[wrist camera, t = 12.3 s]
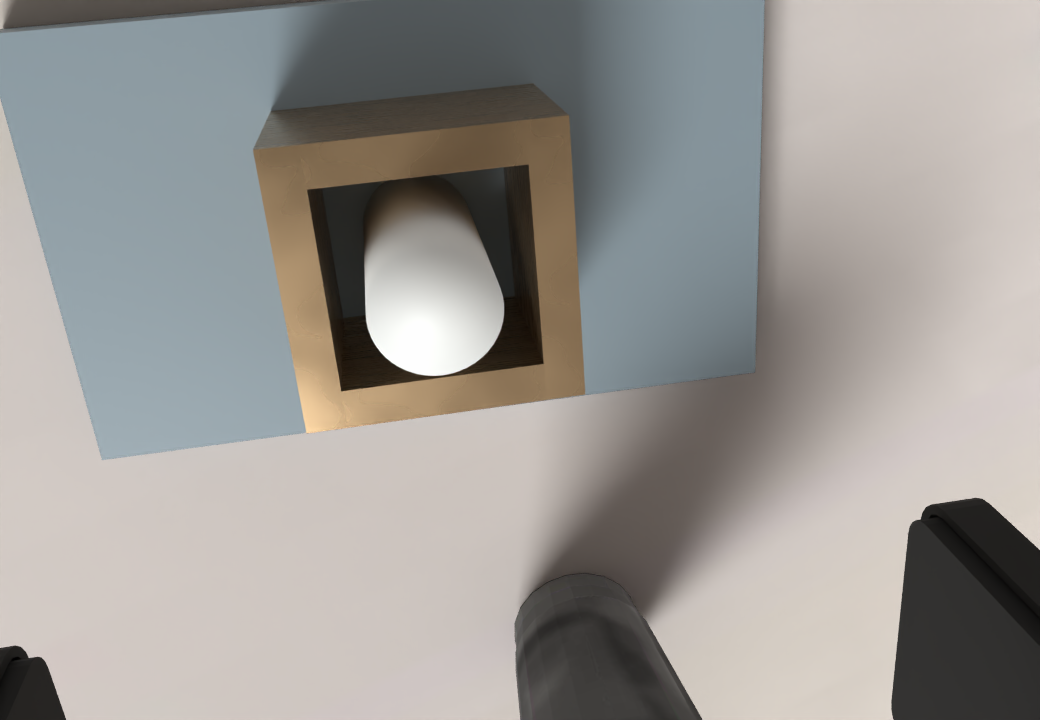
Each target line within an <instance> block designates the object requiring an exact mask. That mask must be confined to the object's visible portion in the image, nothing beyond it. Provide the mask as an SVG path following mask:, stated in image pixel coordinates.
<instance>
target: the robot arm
mask: <svg viewBox="0 0 1040 720" xmlns="http://www.w3.org/2000/svg"><path fill="white" fill-rule="evenodd" d="M892 715H893V719H894V720H1040V550H1039V549H1038V548H1037V547H1036V546H1035V545H1034V544H1033V543H1031V542H1030V541H1029V540H1028V539H1027V538H1026V537H1025V536H1024V535H1023V534H1022V533H1021V532H1020V531H1018V530H1017V529H1016V528H1015V527H1014V526H1013V525H1012V524H1011V523H1010V522H1009V521H1008V520H1007V519H1005V518H1004V517H1003V516H1002V515H1001V514H1000V513H999V512H998V511H997V510H996V509H995V508H993V507H992V506H991V505H990V504H989V503H988V502H986V501H985V500H983V499H980V498H972V499H965V500H959V501H952V502H946V503H939V504H933V505H930V506H928V507H926V508H925V510H924V511H923V513H922V517H921V520H916V521H914V522H912V524H911V526H910V528H909V533H908V543H907V552H906V562H905V572H904V582H903V592H902V602H901V612H900V622H899V632H898V642H897V652H896V662H895V672H894V682H893V692H892ZM0 720H66V718H65V715H64V712H63V709H62V706H61V704H60V701H59V698H58V695H57V692H56V689H55V686H54V683H53V681H52V678H51V675H50V672H49V669H48V667H47V665H46V662H45V661H44V660H43V659H42V658H41V657H34V658H28V656H27V653H26V652H25V651H24V650H23V649H22V648H21V647H19V646H10V647H4V648H0Z"/></svg>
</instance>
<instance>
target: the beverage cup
mask: <svg viewBox="0 0 1040 720" xmlns="http://www.w3.org/2000/svg"><path fill="white" fill-rule="evenodd" d="M515 642H516V677H517V688H518V698H519V709H520V720H702V718H701V716H700V715H699V713H698V711H697V709H696V708H695V706H694V704H693V702H692V701H691V699H690V697H689V695H688V694H687V692H686V690H685V688H684V687H683V685H682V683H681V681H680V679H679V678H678V676H677V674H676V672H675V671H674V669H673V667H672V665H671V664H670V662H669V660H668V658H667V657H666V655H665V653H664V651H663V650H662V648H661V646H660V644H659V643H658V641H657V639H656V637H655V636H654V634H653V632H652V630H651V628H650V627H649V625H648V623H647V621H646V620H645V619H644V618H643V617H642V616H641V615H640V613H639V612H638V610H637V608H636V607H635V606H634V605H633V602H632V600H631V598H630V596H629V595H628V594H627V593H626V591H625V590H624V589H623V588H622V587H621V586H620V585H619V584H617V583H615V582H613V581H612V580H610V579H608V578H606V577H603V576H598V575H592V574H586V573H585V574H575V575H566V576H563V577H561V578H558V579H555V580H553V581H550V582H547V583H546V584H545V585H543V586H542V587H540V588H539V589H538V590H536V591H535V592H533V593H532V594H531V595H530V597H529V598H528V599H527V600H526V602H525V603H524V604H523V605H522V607H521V608H520V611H519V613H518V616H517V619H516V621H515Z"/></svg>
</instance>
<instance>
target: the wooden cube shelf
mask: <svg viewBox="0 0 1040 720" xmlns="http://www.w3.org/2000/svg"><path fill="white" fill-rule="evenodd" d="M253 153H254V159H255V164H256V169H257V175H258V180H259V185H260V190H261V196H262V201H263V206H264V211H265V217H266V222H267V227H268V233H269V238H270V243H271V248H272V254H273V259H274V264H275V269H276V275H277V280H278V285H279V291H280V296H281V301H282V306H283V312H284V317H285V322H286V327H287V333H288V338H289V343H290V349H291V354H292V359H293V364H294V370H295V375H296V380H297V386H298V391H299V396H300V401H301V407H302V412H303V417H304V422H305V428H306V433H313V432H321V431H328V430H335V429H342V428H349V427H356V426H364V425H371V424H378V423H385V422H392V421H399V420H407V419H414V418H421V417H428V416H435V415H442V414H450V413H457V412H464V411H471V410H478V409H485V408H493V407H500V406H507V405H514V404H521V403H528V402H536V401H543V400H550V399H557V398H564V397H571V396H579V395H585V378H584V361H583V344H582V327H581V310H580V292H579V275H578V258H577V241H576V224H575V207H574V190H573V173H572V155H571V138H570V121H569V115H568V114H567V113H566V112H565V111H564V110H563V109H562V108H560V107H559V106H558V105H557V104H556V103H555V102H554V101H553V100H551V99H550V98H549V97H548V96H547V95H546V94H545V93H543V92H542V91H541V90H540V89H539V88H538V87H537V86H536V85H534V84H533V83H531V84H522V85H512V86H503V87H493V88H484V89H474V90H465V91H455V92H446V93H437V94H427V95H418V96H408V97H399V98H389V99H380V100H370V101H361V102H351V103H342V104H332V105H323V106H313V107H304V108H294V109H285V110H275V111H270V113H269V116H268V118H267V120H266V122H265V124H264V126H263V129H262V131H261V133H260V135H259V137H258V140H257V142H256V144H255V146H254V148H253ZM501 167H503V168H504V179H505V191H506V202H507V214H508V225H509V237H510V248H511V260H512V271H513V283H514V294H515V296H511V297H503V301H504V318H503V323H502V327H501V330H500V333H499V335H498V337H497V339H496V341H495V343H494V344H493V346H492V347H491V348H490V350H489V351H488V352H487V353H486V354H485V355H484V356H483V357H482V358H481V359H479V360H478V361H477V362H476V363H474V364H472V365H471V366H469V367H467V368H465V369H463V370H461V371H458V372H455V373H452V374H446V375H438V376H428V375H420V374H415V373H412V372H409V371H406V370H404V369H402V368H400V367H398V366H396V365H395V364H393V363H392V362H391V361H389V360H388V359H387V358H386V357H385V356H384V355H383V354H382V353H381V352H380V351H379V349H378V348H377V347H376V345H375V344H374V342H373V340H372V338H371V336H370V333H369V330H368V327H367V322H366V315H362V316H355V317H347V318H343V312H342V306H341V300H340V294H339V287H338V281H337V275H336V269H335V263H334V257H333V251H332V245H331V239H330V232H329V226H328V220H327V214H326V208H325V202H324V196H323V190H322V188H326V187H335V186H344V185H352V184H361V183H370V182H379V181H387V180H396V179H405V178H414V177H423V176H431V175H440V174H449V173H458V172H466V171H475V170H484V169H493V168H501Z"/></svg>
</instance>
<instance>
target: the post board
mask: <svg viewBox="0 0 1040 720" xmlns="http://www.w3.org/2000/svg"><path fill="white" fill-rule="evenodd" d="M764 2H765V0H324V1H313V2H302V3H290V4H279V5H268V6H257V7H245V8H234V9H223V10H211V11H200V12H189V13H177V14H166V15H155V16H143V17H132V18H121V19H109V20H98V21H87V22H76V23H64V24H53V25H42V26H30V27H19V28H8V29H0V99H1V102H2V106H3V109H4V113H5V117H6V120H7V124H8V127H9V131H10V134H11V138H12V141H13V145H14V149H15V152H16V156H17V159H18V163H19V166H20V170H21V173H22V177H23V181H24V184H25V188H26V191H27V195H28V198H29V202H30V205H31V209H32V213H33V216H34V220H35V223H36V227H37V230H38V234H39V237H40V241H41V245H42V248H43V252H44V255H45V259H46V262H47V266H48V269H49V273H50V276H51V280H52V284H53V287H54V291H55V294H56V298H57V301H58V305H59V308H60V312H61V316H62V319H63V323H64V326H65V330H66V333H67V337H68V340H69V344H70V348H71V351H72V355H73V358H74V362H75V365H76V369H77V372H78V376H79V380H80V383H81V387H82V390H83V394H84V397H85V401H86V404H87V408H88V412H89V415H90V419H91V422H92V426H93V429H94V433H95V436H96V440H97V443H98V447H99V451H100V454H101V458H102V460H106V459H114V458H121V457H129V456H136V455H144V454H151V453H159V452H166V451H173V450H181V449H188V448H196V447H203V446H211V445H218V444H226V443H233V442H241V441H248V440H255V439H263V438H270V437H278V436H285V435H293V434H300V433H306V428H305V422H304V417H303V412H302V407H301V401H300V396H299V391H298V386H297V380H296V375H295V370H294V364H293V359H292V354H291V349H290V343H289V338H288V333H287V327H286V322H285V317H284V312H283V306H282V301H281V296H280V291H279V285H278V280H277V275H276V269H275V264H274V259H273V254H272V248H271V243H270V238H269V233H268V227H267V222H266V217H265V211H264V206H263V201H262V196H261V190H260V185H259V180H258V175H257V169H256V164H255V159H254V153H253V148H254V146H255V144H256V142H257V140H258V137H259V135H260V133H261V131H262V129H263V126H264V124H265V122H266V120H267V118H268V116H269V113H270V111H275V110H285V109H294V108H304V107H313V106H323V105H332V104H342V103H351V102H361V101H370V100H380V99H389V98H399V97H408V96H418V95H427V94H437V93H446V92H455V91H465V90H474V89H484V88H493V87H503V86H512V85H522V84H531V83H533V84H534V85H536V86H537V87H538V88H539V89H540V90H541V91H542V92H543V93H545V94H546V95H547V96H548V97H549V98H550V99H551V100H553V101H554V102H555V103H556V104H557V105H558V106H559V107H560V108H562V109H563V110H564V111H565V112H566V113H567V114H568V115H569V121H570V138H571V155H572V173H573V190H574V207H575V224H576V241H577V258H578V275H579V292H580V310H581V327H582V344H583V361H584V378H585V395H591V394H598V393H605V392H613V391H620V390H628V389H635V388H643V387H650V386H658V385H665V384H673V383H680V382H687V381H695V380H702V379H710V378H717V377H725V376H732V375H740V374H747V373H754V372H755V358H756V318H757V279H758V239H759V200H760V160H761V121H762V81H763V42H764ZM322 190H323V196H324V202H325V208H326V214H327V220H328V226H329V232H330V239H331V245H332V251H333V257H334V263H335V269H336V275H337V281H338V287H339V294H340V300H341V306H342V312H343V318H347V317H355V316H362V315H366V322H367V327H368V330H369V333H370V336H371V338H372V340H373V342H374V344H375V345H376V347H377V348H378V349H379V351H380V352H381V353H382V354H383V355H384V356H385V357H386V358H387V359H388V360H389V361H391V362H392V363H393V364H395V365H396V366H398V367H400V368H402V369H404V370H406V371H409V372H412V373H415V374H420V375H428V376H438V375H446V374H452V373H455V372H458V371H461V370H463V369H465V368H467V367H469V366H471V365H472V364H474V363H476V362H477V361H478V360H479V359H481V358H482V357H483V356H484V355H485V354H486V353H487V352H488V351H489V350H490V348H491V347H492V346H493V344H494V343H495V341H496V339H497V337H498V335H499V333H500V330H501V327H502V323H503V318H504V301H503V297H511V296H515V294H514V283H513V271H512V260H511V248H510V237H509V225H508V214H507V202H506V191H505V179H504V168H503V167H501V168H493V169H484V170H475V171H466V172H458V173H449V174H440V175H431V176H423V177H414V178H405V179H396V180H387V181H379V182H370V183H361V184H352V185H344V186H335V187H326V188H322ZM579 396H583V395H579ZM571 397H576V396H571ZM564 398H568V397H564ZM557 399H561V398H557ZM550 400H553V399H550ZM543 401H546V400H543ZM536 402H538V401H536ZM528 403H531V402H528ZM521 404H524V403H521ZM514 405H516V404H514ZM507 406H509V405H507ZM500 407H501V406H500ZM493 408H494V407H493ZM485 409H486V408H485ZM478 410H479V409H478Z"/></svg>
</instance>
